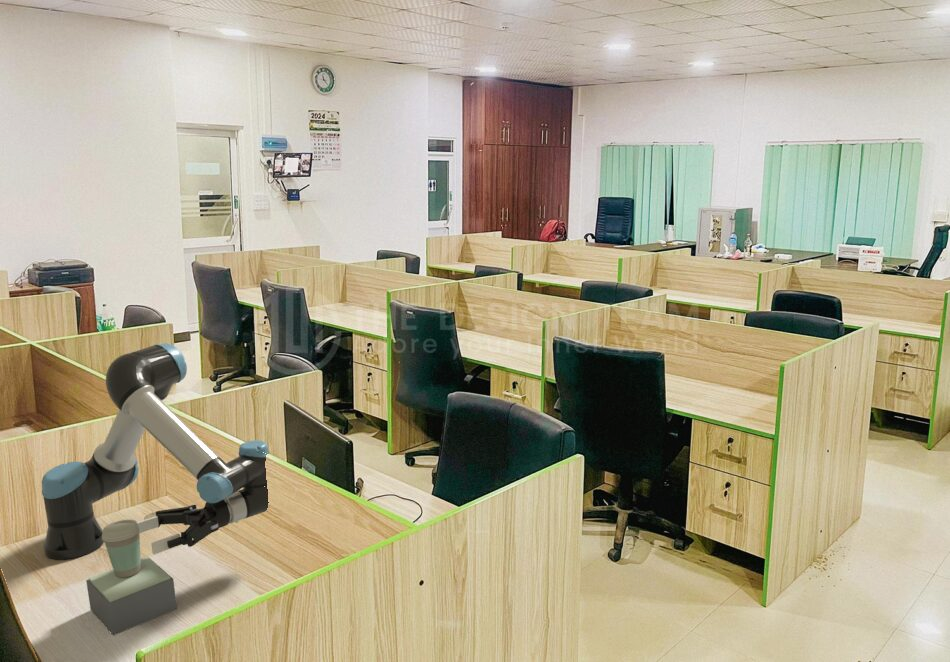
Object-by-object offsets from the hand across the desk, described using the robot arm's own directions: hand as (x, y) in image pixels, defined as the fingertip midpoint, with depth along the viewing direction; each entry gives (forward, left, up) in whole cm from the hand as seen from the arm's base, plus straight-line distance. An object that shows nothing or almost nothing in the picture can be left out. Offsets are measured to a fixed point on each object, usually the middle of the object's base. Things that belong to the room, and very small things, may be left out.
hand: (141, 539), depth 186 cm
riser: (0, -4, -17) cm, 18 cm away
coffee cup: (-3, -3, -9) cm, 10 cm away
